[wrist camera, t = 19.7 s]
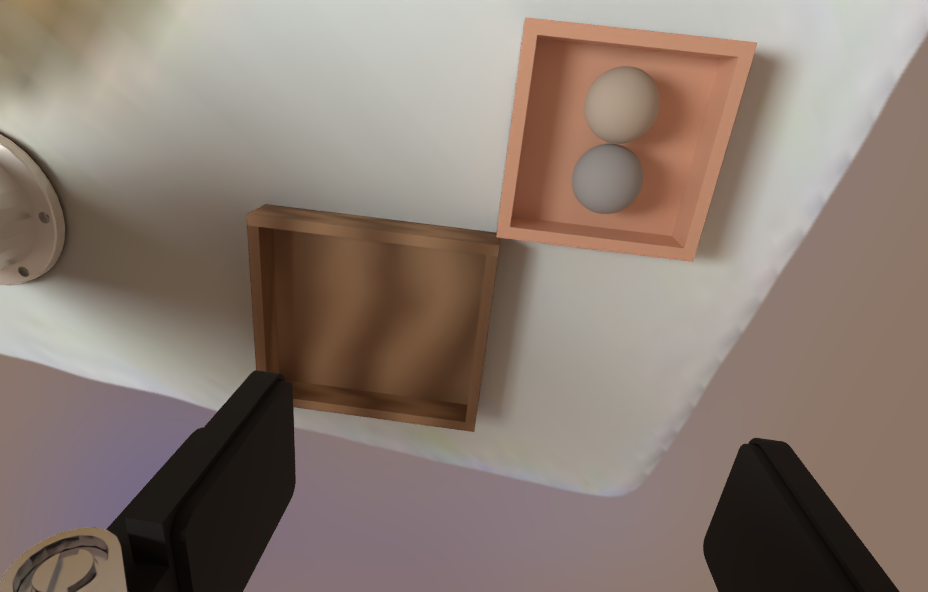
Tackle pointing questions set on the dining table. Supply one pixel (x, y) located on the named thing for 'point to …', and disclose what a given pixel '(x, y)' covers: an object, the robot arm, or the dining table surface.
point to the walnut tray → (372, 313)
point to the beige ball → (622, 104)
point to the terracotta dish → (659, 150)
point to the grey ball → (607, 178)
